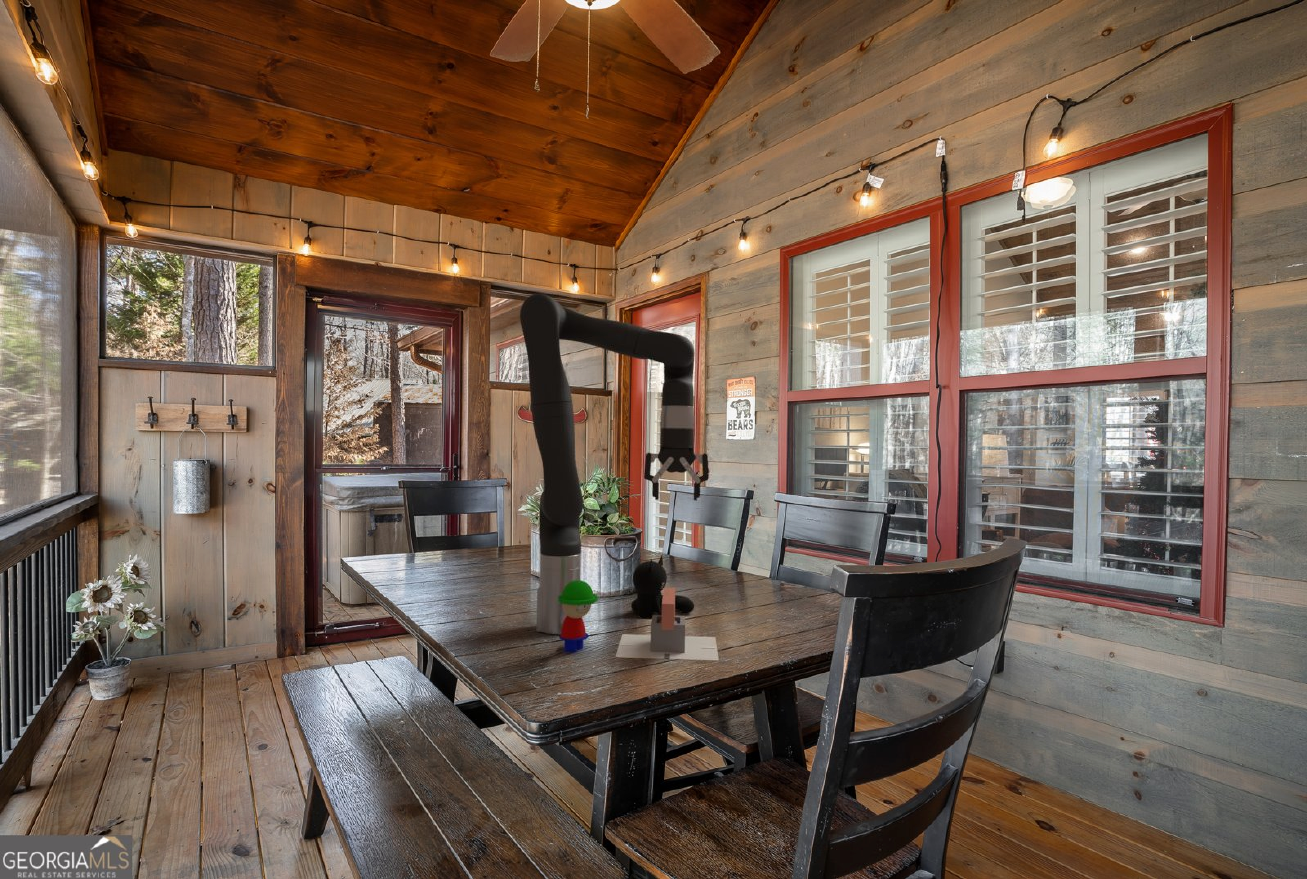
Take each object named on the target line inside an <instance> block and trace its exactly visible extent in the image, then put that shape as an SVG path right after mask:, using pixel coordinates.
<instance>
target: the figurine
mask: <svg viewBox="0 0 1307 879" xmlns="http://www.w3.org/2000/svg"><path fill="white" fill-rule="evenodd" d="M663 560H664V557H663V555H660V558H659V560H658V562H657V561H653V560H652V558H650V560H646V561H643V562H642V563H640V564H638V565H637V567H636V568H635V569H634V571H633V574H632V583H633V586H634V588H635V589H636V591H637V592H636V598H635V599H633V600H632V602H631V604H630V605H631V606H630V607H631V609H632V611H633V612H634V613H636V616H637V617H639V618H642V619H652V616H653V615H662V599H663V593H662V592H663V591H664V588H666V584H667V580H668V578H667V577H668V576H667V572H666V569H665V567H664V561H663ZM675 610H678V611H679V612H681V613H682V614H690V613H692V612H693V611H694V610H695V603H694V602H693V601H692V600H691V598H689V597H687V596H684V595H677V594H675Z"/></svg>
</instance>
